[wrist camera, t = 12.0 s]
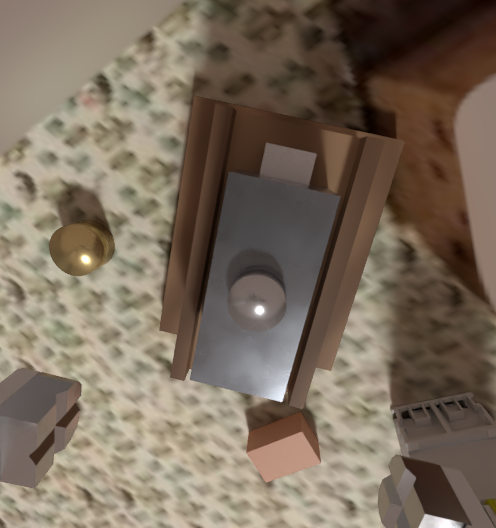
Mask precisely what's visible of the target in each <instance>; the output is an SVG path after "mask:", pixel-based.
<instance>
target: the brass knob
mask: <svg viewBox="0 0 496 528" xmlns="http://www.w3.org/2000/svg"><path fill="white" fill-rule="evenodd" d="M49 250H50V255H51V257H52V259H53V261H54V263H55V264H56V265H57V266H58V267H59V268H60V269H61V270H62V271H64V272H65V273H67V274H70V275H73V276H83V275H86V274H89V273H90V272H92V271H94V270H95V269H97V268H99V267H101V266H102V265H104V264H106V263H107V262H108V261H109V260H110V259H111V258H112V256H113V254H114V250H115V243H114V239H113V236H112V235H111V233H110V231H109V230H108V229H107V228H106V227H105V226H104V225H102V224H101V223H99V222H96V221H92V220H84V221H81V222H77V223H74V224H71V225H67V226H64V227H61V228H59V229H58V230H56V231H55V232H54V234H53V235H52V237H51V239H50V243H49Z"/></svg>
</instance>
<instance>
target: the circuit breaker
mask: <svg viewBox="0 0 496 528" xmlns="http://www.w3.org/2000/svg"><path fill="white" fill-rule="evenodd" d="M471 398H474V397H473V394H472V393H471V392H468V393H463V394H458V395H453V396H448V397H443V398H438V399H433V400H427V401H422V402H417V403H412V404H407V405H402V406H397V407H392V408H390V409H391V412H392V414H394V413H396V416H397V418H396V419H393V421H394V425H395V429H396V433H397V436H398V440H399V444H400V448H401V452H402V456H405V457H410V458H414V459H419V460H423V461H428V462H432V463H439V464H444V465H448V466H453V467H456V468H458V469H459V470H460V471H461V472H462V474H463V475H464V477H465V479H466V480H467V482H468V484H469V485H470V487H471V489H472V490H473V492H474V494H475V495H476V497H477V499H478V500H479V502H480V504H481V506H482V507H483V509H484V511H485V512H486V514H487V516H488V517H489V519H490V521H491V522H492V524H493V526H494V527H495V528H496V422H495V421H494V420H493V418H492V417H491V416H490V415H489V413H488V412H487V411H486V410H485V409H484V407H483V406H482V405H481V404H480V403H474V401H473V400H472V399H471ZM460 400H463V404H464V408H462V407H461V406H460V404H459V403H458V401H460ZM452 401H453V402H454V403H451V404H446V405H444V403H446V402H452ZM435 405H440V407H436V406H435ZM421 407H422V409H420V410H415V411H412V409H416V408H421ZM425 407H430V409H427V410H426V408H425ZM403 411H408V412H409V416H410V418H407V419H403V418H402V412H403Z"/></svg>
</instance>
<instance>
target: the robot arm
mask: <svg viewBox="0 0 496 528" xmlns="http://www.w3.org/2000/svg"><path fill="white" fill-rule="evenodd" d="M81 385H82V384H81V383H80V382H79V381H75V380H71V379H67V378H63V377H59V376H55V375H51V374H47V373H44V372H42V373H41V372H38V371H34V370H30V369H26V368H21V369H17V370H16V371H15V372H13V373H12V374H11V375H10V376H8V377H7V378H6V379H5V380H3V381H2V382H1V383H0V482H5V483H10V484H15V485H20V486H25V487H30V488H36V487H37V485H38V484H39V483H40V481H41V480H42V478H43V477H44V476H45V474H46V473H47V472H48V470H49V469H50V468H51V466H52V465H53V460H54V454H55V453H57V452H59V451H61V450H63V449H65V447H66V446H67V444H68V443H69V442H70V440H71V438H72V436H73V434H74V432H75V430H76V428H77V424H78V421H79V415H80V409H79V407H78V406H77V404H76V401H77V400H78V399H79V397H80V396H81ZM388 467H389V470H390V473H391V475H389V476H388V477H386V478H384V479H383V480H382V482H381V485H380V488H379V492H378V509H379V515H380V518H381V522H382V524H383V525H384V526H385V527H386V528H495V527H494V526H493V524H492V522H491V521H490V519H489V517H488V516H487V514H486V512H485V511H484V509H483V507H482V506H481V504H480V502H479V500H478V499H477V497H476V495H475V494H474V492H473V490H472V489H471V487H470V485H469V484H468V482H467V480H466V479H465V477H464V475H463V474H462V472H461V471H460V470H459V469H458V468H456V467H453V466H448V465H444V464H439V463H432V462H428V461H423V460H419V459H414V458H410V457H405V456H401V455H395V456H394V457H392V459H391V461H390V463H389V465H388Z"/></svg>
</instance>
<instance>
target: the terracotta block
mask: <svg viewBox="0 0 496 528" xmlns="http://www.w3.org/2000/svg"><path fill="white" fill-rule="evenodd" d="M246 453H247V454H248V456H249V458H250V459H251V461H252V462H253V464H254V465H255V467H256V468H257V470H258V471H259V473H260V474H261V476H262V477H263V479H264V480H265V482H269V481H272V480H275V479H278V478H280V477H283V476H286V475H289V474H292V473H294V472H297V471H300V470H303V469H306V468H308V467H311V466H314V465H317V464H320V463H321V459H320V451H319V444H318V440H317V438H316V437H315V435H314V433H313V432H312V430H311V428H310V427H309V425H308V423H307V422H306V420H305V418H304V416H303V415H302V413H301V411H300V412H298V413H295V414H293V415H290V416H288V417H285V418H283V419H280V420H278V421H275V422H273V423H270V424H268V425H265V426H262V427H260V428H257V429H255V430H252V431H250V432H249V436H248V444H247V452H246Z"/></svg>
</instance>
